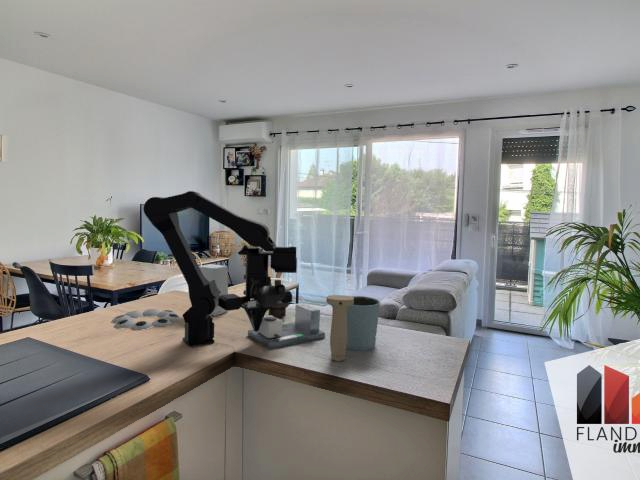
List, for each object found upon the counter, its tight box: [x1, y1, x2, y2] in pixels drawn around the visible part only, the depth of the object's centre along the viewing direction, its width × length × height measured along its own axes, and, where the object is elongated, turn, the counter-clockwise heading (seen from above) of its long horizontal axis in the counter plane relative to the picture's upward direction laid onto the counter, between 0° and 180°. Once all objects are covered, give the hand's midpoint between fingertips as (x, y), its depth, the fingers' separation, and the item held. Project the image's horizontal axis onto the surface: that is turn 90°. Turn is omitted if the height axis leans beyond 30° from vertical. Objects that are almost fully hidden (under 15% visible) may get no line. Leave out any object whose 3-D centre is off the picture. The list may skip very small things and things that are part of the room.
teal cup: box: [346, 295, 381, 351], centre depth 103 cm, size 10×10×12 cm
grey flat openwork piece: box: [110, 308, 182, 331], centre depth 119 cm, size 20×20×2 cm
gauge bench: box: [247, 303, 326, 350], centre depth 108 cm, size 18×12×8 cm
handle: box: [326, 294, 354, 363], centre depth 93 cm, size 5×6×15 cm
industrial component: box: [268, 279, 290, 319], centre depth 127 cm, size 9×7×12 cm
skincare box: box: [198, 263, 229, 317], centre depth 129 cm, size 8×7×16 cm
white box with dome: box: [258, 315, 284, 338], centre depth 104 cm, size 6×8×4 cm, turn 36°
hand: (256, 331), depth 102 cm, fingers closed
